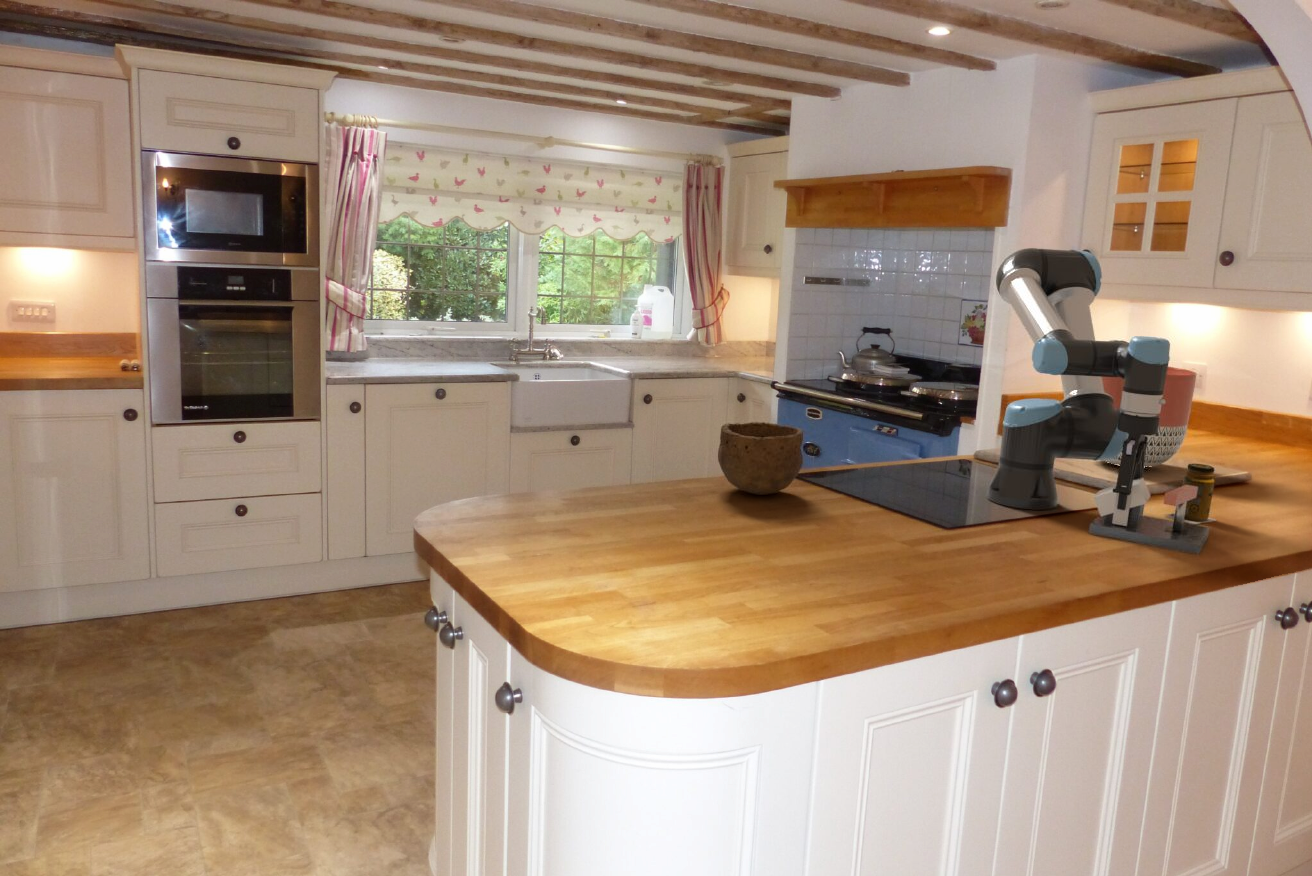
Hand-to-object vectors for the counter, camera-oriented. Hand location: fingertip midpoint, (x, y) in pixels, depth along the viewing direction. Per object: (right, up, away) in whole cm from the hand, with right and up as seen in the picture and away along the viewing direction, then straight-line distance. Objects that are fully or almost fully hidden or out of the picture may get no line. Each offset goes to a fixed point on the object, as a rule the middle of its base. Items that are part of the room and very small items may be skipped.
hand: (1124, 519), depth 209 cm
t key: (+8, -2, -5) cm, 10 cm away
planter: (+31, +9, +66) cm, 74 cm away
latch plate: (+4, -3, -2) cm, 6 cm away
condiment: (+21, -1, +13) cm, 24 cm away
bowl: (-75, +4, +16) cm, 77 cm away
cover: (0, +3, -1) cm, 3 cm away
